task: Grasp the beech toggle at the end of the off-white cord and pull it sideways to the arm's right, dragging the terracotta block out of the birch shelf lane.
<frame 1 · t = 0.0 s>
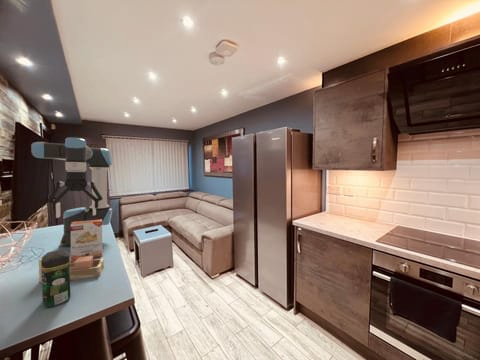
hand: (76, 216, 94), 28 cm above the table, fingers open, 13 cm apart
corded block: (67, 265, 93), point 5 cm above the table, slide at 0.0 cm
shelf lane: (81, 273, 95), on the table
coffee jar: (56, 300, 76), on the table
cracker box: (87, 257, 112), on the table
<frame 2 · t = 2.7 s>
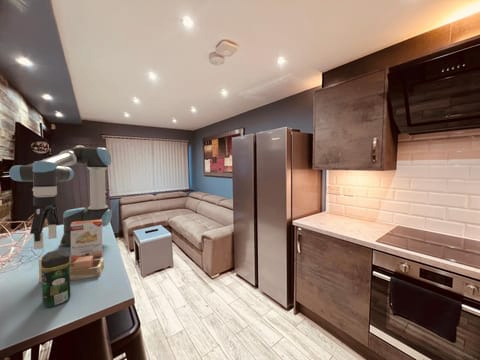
hand: (46, 243, 89), 17 cm above the table, fingers open, 13 cm apart
nothing on the table moved.
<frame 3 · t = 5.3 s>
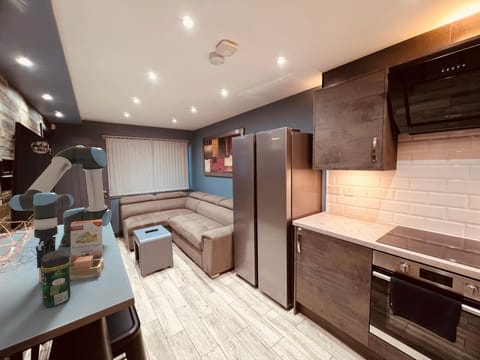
hand: (47, 277, 90), 1 cm above the table, fingers closed on corded block, 4 cm apart
corded block: (67, 265, 93), point 5 cm above the table, slide at 0.0 cm, touching gripper
everything else where it was.
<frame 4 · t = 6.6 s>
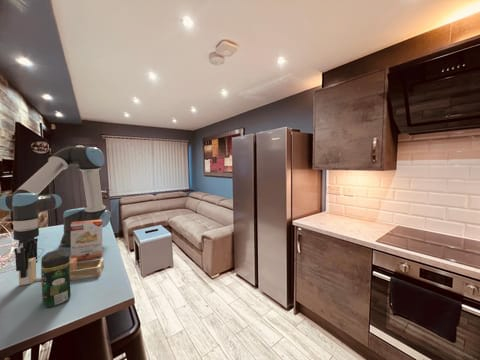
hand: (27, 281, 87), 1 cm above the table, fingers closed on corded block, 4 cm apart
corded block: (49, 267, 90), point 5 cm above the table, slide at 6.4 cm, touching gripper
everything else where it was.
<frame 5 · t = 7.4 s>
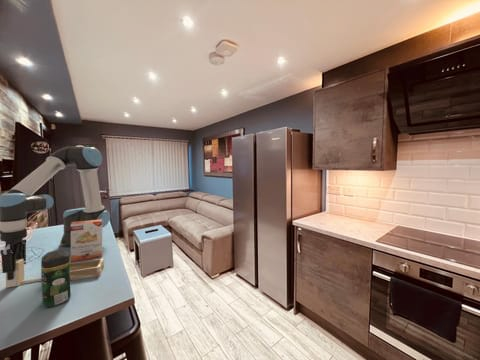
hand: (15, 283, 85), 1 cm above the table, fingers closed on corded block, 4 cm apart
corded block: (37, 269, 88), point 5 cm above the table, slide at 10.4 cm, touching gripper
everything else where it was.
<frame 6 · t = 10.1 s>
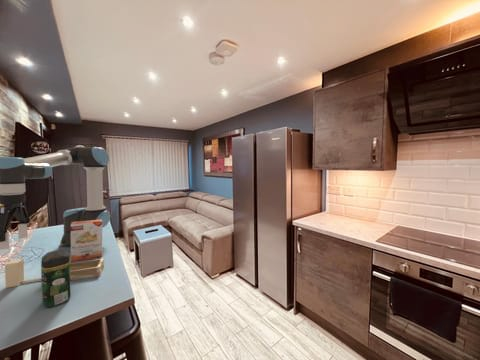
hand: (14, 243, 84), 18 cm above the table, fingers open, 13 cm apart
corded block: (37, 269, 88), point 5 cm above the table, slide at 10.5 cm
everything else where it was.
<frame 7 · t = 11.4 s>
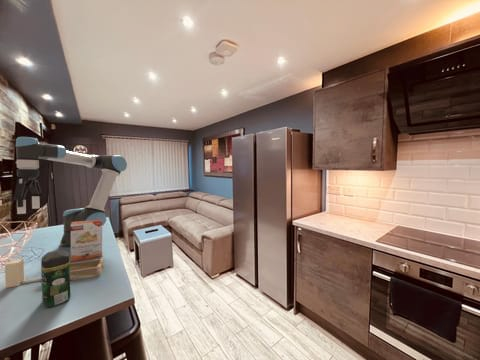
hand: (29, 211, 99), 29 cm above the table, fingers open, 13 cm apart
nothing on the table moved.
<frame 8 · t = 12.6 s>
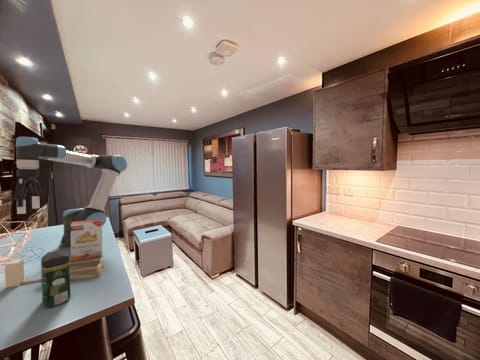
hand: (29, 210, 99), 29 cm above the table, fingers open, 13 cm apart
nothing on the table moved.
at the end: corded block slide at 10.5 cm; the gripper is holding nothing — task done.
